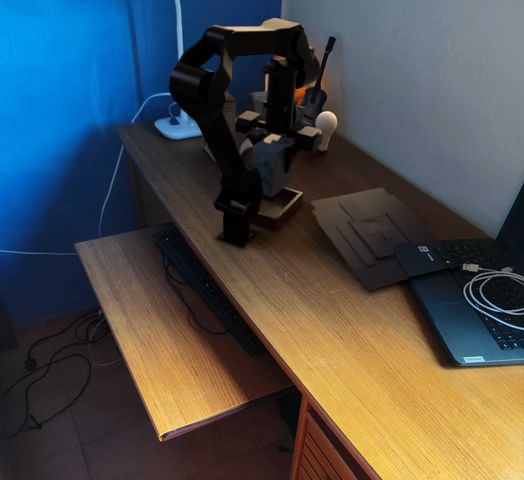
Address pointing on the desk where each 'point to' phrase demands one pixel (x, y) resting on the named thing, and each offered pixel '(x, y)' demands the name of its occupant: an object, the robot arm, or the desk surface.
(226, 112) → the coffee box
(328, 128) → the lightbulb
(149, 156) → the desk surface
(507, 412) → the desk surface
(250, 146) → the ceramic mug
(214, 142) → the robot arm
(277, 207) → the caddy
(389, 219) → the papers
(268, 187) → the tabbed grey block
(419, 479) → the desk surface
